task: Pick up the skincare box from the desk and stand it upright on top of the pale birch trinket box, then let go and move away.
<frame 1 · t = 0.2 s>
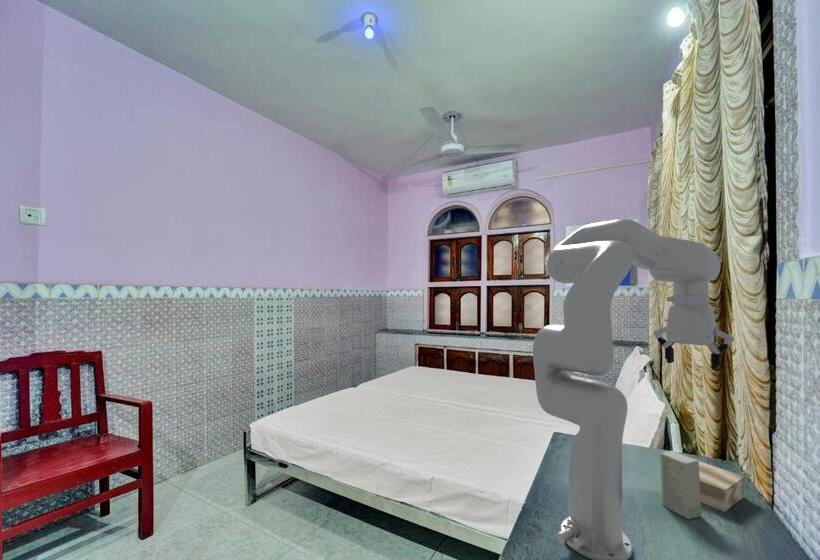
hand: (691, 365, 96), 31 cm above the table, fingers open, 9 cm apart
birch trinket box: (711, 495, 90), on the table
skincare box: (680, 511, 83), on the table
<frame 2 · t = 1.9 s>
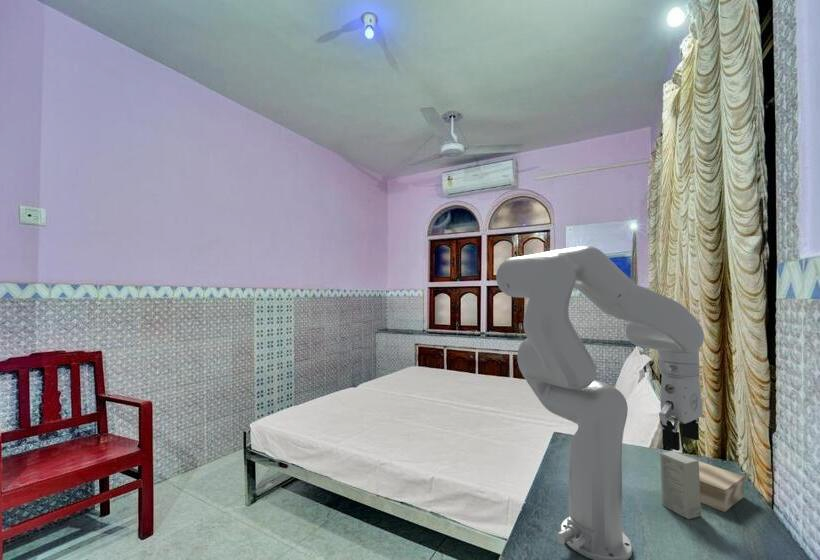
hand: (681, 443, 84), 15 cm above the table, fingers open, 9 cm apart
nothing on the table moved.
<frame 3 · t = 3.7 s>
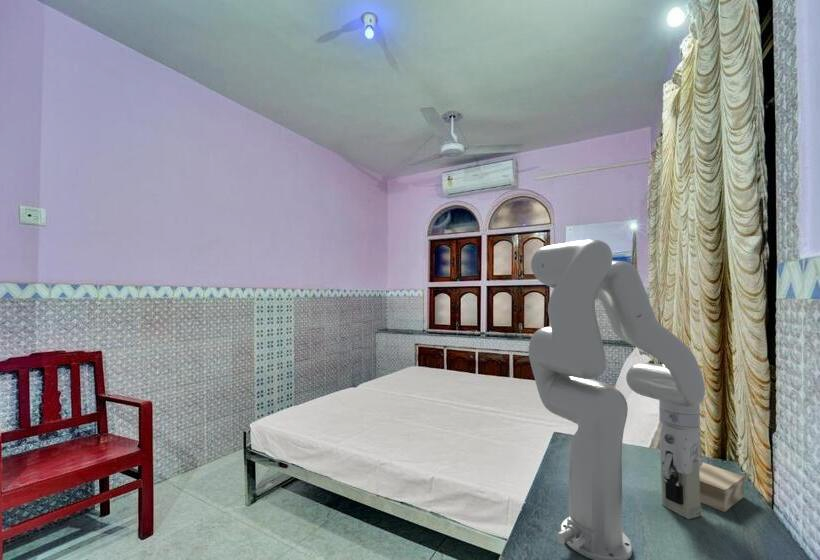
hand: (680, 496, 83), 3 cm above the table, fingers closed on skincare box, 5 cm apart
skincare box: (680, 511, 83), on the table, touching gripper
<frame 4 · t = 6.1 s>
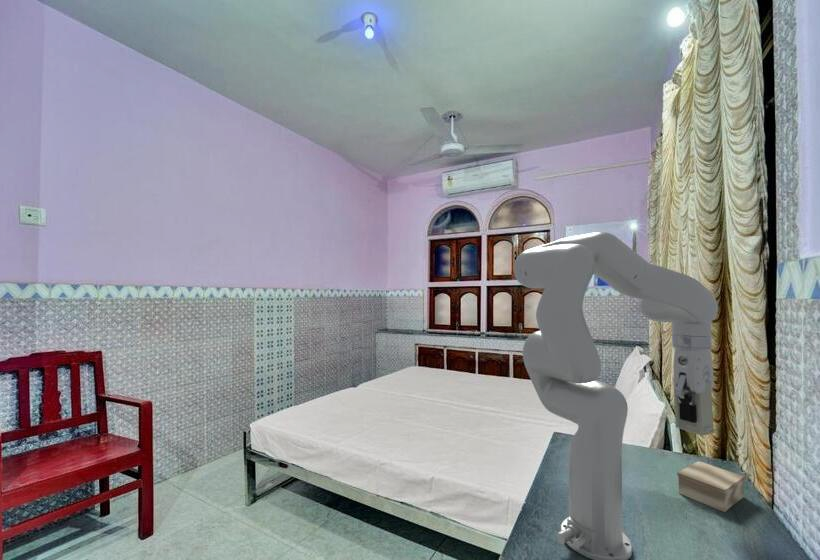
hand: (693, 417, 87), 20 cm above the table, fingers closed on skincare box, 5 cm apart
skincare box: (693, 431, 87), point 17 cm above the table, touching gripper
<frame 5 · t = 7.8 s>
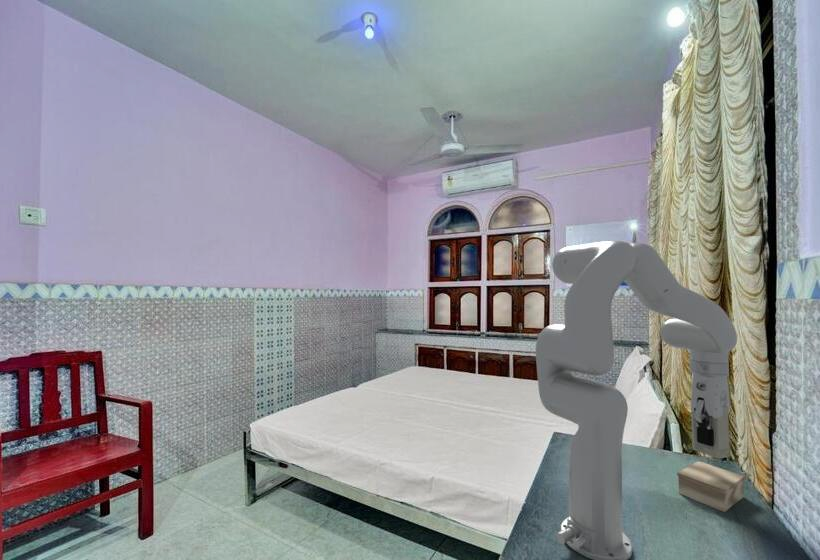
hand: (710, 441, 90), 13 cm above the table, fingers closed on skincare box, 5 cm apart
skincare box: (710, 453, 90), point 10 cm above the table, touching gripper
when the fingers open (9 cm above the table, at t = 9.0 s): skincare box stays where it is, resting on birch trinket box.
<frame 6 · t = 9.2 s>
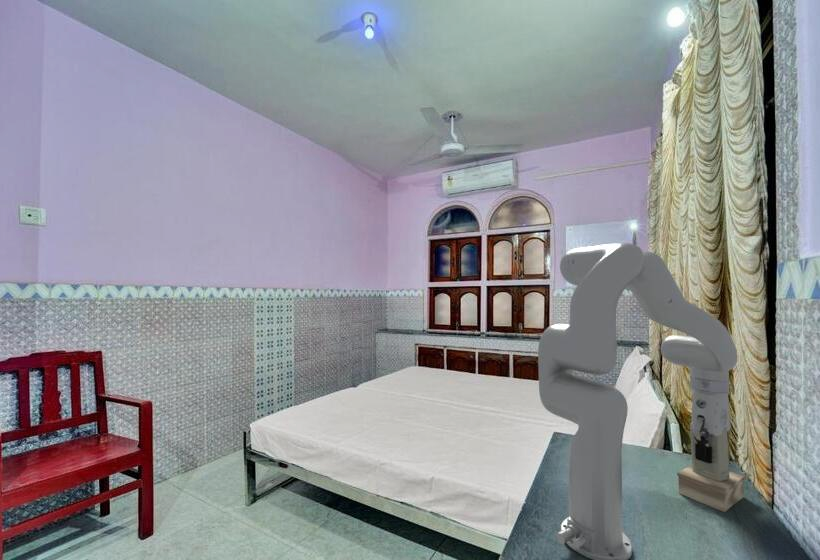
hand: (710, 457, 90), 9 cm above the table, fingers open, 7 cm apart
skincare box: (709, 475, 90), point 5 cm above the table, touching birch trinket box
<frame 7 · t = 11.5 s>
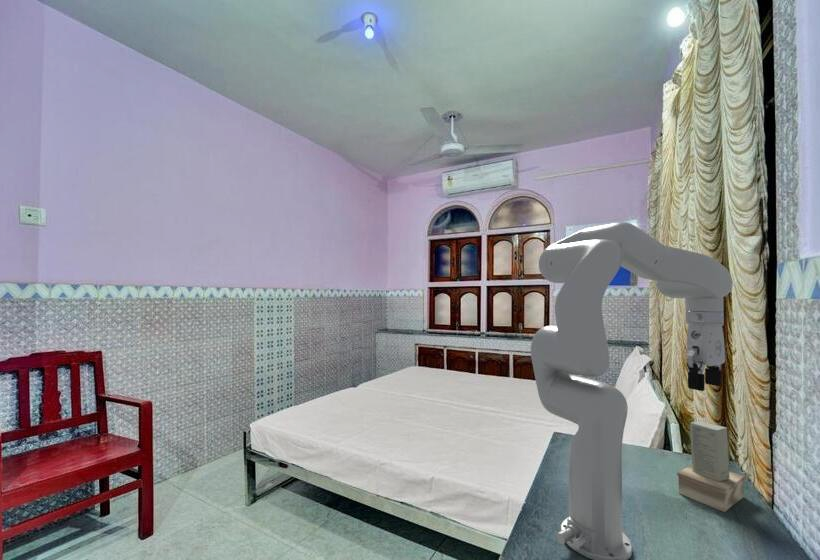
hand: (704, 387, 91), 26 cm above the table, fingers open, 9 cm apart
nothing on the table moved.
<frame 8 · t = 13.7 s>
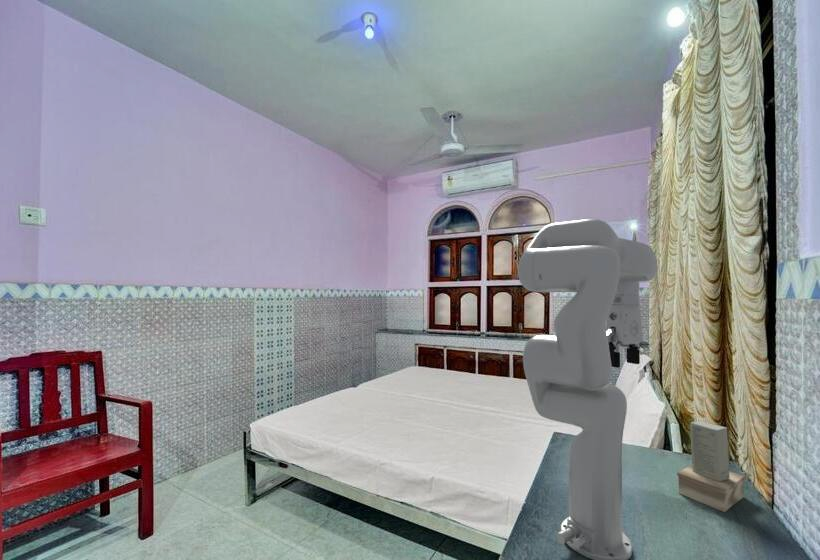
hand: (623, 365, 98), 30 cm above the table, fingers open, 9 cm apart
nothing on the table moved.
at the end: skincare box inside the target area on the birch trinket box (0.4 cm from its centre), point 4.8 cm above the birch trinket box's base; skincare box tilted 0°; the gripper is holding nothing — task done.
